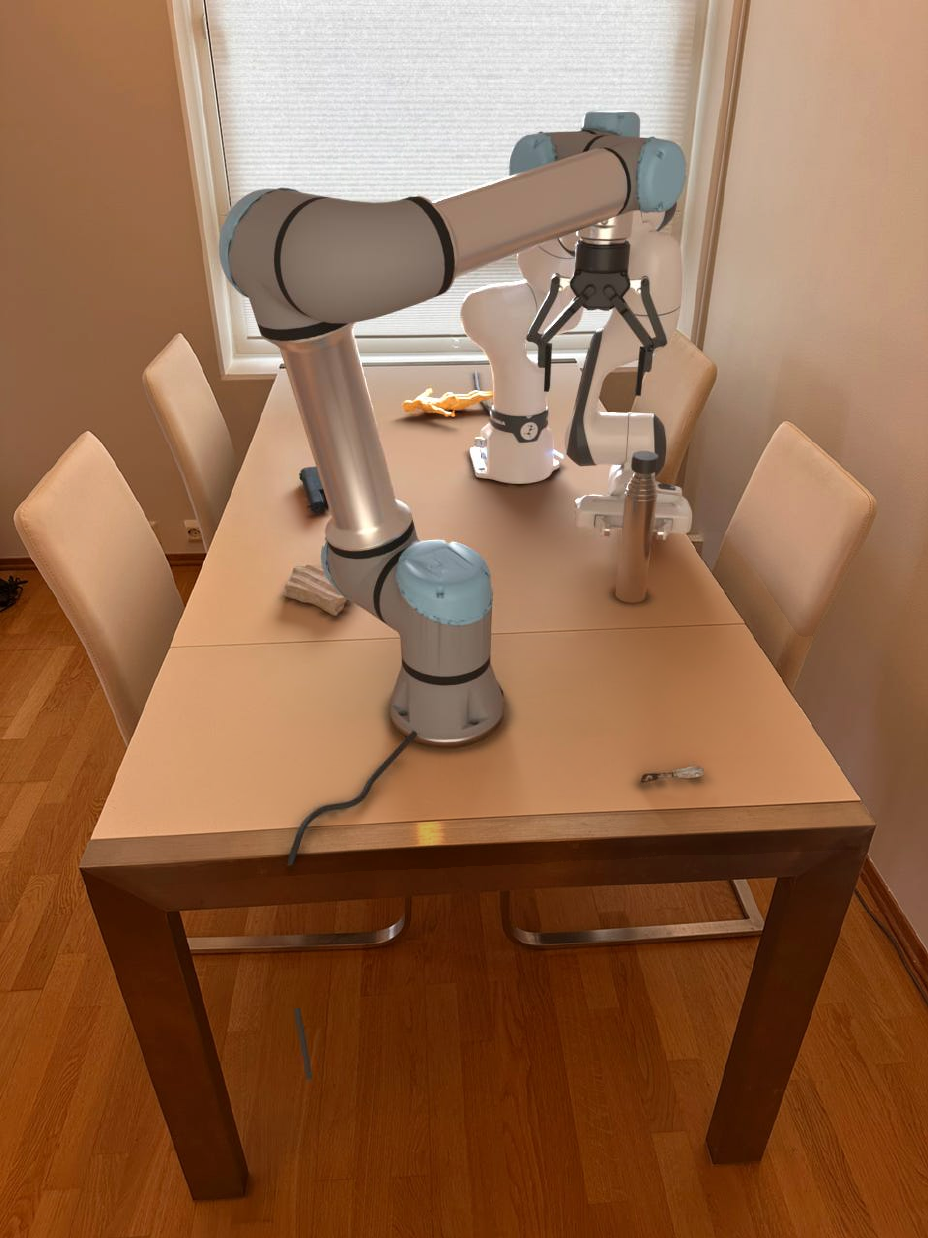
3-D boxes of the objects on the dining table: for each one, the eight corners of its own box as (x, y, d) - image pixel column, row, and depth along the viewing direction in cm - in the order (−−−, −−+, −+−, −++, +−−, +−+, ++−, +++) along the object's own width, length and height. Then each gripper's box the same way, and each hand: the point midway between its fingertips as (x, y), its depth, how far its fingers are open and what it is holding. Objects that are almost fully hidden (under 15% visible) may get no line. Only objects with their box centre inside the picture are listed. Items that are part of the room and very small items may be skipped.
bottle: (614, 601, 146) (627, 462, 133) (616, 586, 150) (629, 450, 137) (644, 604, 145) (661, 465, 132) (645, 589, 149) (661, 453, 136)
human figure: (395, 413, 223) (394, 398, 221) (438, 390, 237) (438, 375, 235) (462, 429, 215) (462, 413, 213) (502, 404, 229) (503, 388, 227)
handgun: (369, 509, 176) (308, 516, 174) (354, 474, 190) (298, 480, 188) (368, 494, 174) (307, 501, 172) (353, 460, 189) (296, 466, 186)
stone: (372, 582, 151) (371, 569, 149) (337, 617, 141) (336, 603, 140) (307, 569, 155) (305, 556, 154) (268, 602, 146) (266, 588, 144)
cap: (630, 473, 134) (631, 459, 133) (631, 463, 137) (632, 449, 136) (656, 475, 134) (658, 461, 132) (657, 465, 137) (658, 451, 136)
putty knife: (703, 777, 109) (705, 767, 109) (642, 788, 108) (644, 777, 107) (700, 772, 110) (702, 762, 109) (639, 782, 109) (640, 771, 108)
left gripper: (510, 241, 121) (507, 394, 133) (697, 246, 118) (678, 402, 129) (516, 233, 128) (512, 379, 139) (694, 236, 124) (675, 386, 136)
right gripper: (576, 481, 163) (573, 514, 151) (690, 487, 160) (696, 521, 149) (574, 513, 166) (571, 547, 155) (686, 519, 164) (691, 554, 152)
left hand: (592, 391), depth 134 cm, fingers open, 13 cm apart
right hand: (633, 534), depth 152 cm, fingers open, 8 cm apart
